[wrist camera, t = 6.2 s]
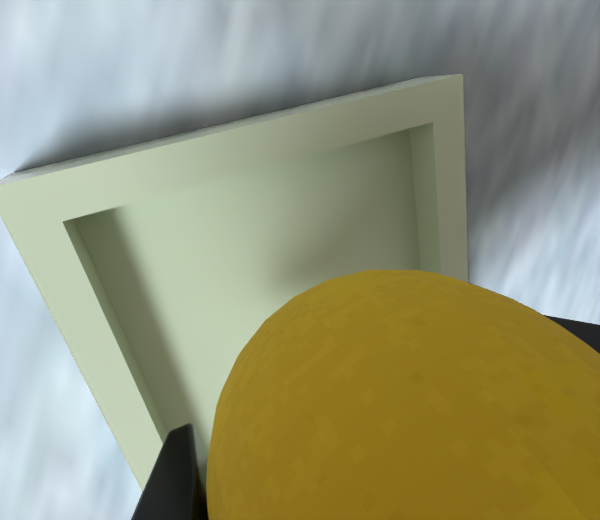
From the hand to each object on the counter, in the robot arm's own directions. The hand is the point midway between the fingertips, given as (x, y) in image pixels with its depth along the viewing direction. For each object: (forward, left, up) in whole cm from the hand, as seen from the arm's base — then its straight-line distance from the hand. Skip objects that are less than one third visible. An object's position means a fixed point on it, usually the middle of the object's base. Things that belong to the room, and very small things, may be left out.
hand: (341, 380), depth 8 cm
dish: (0, 0, -3) cm, 3 cm away
